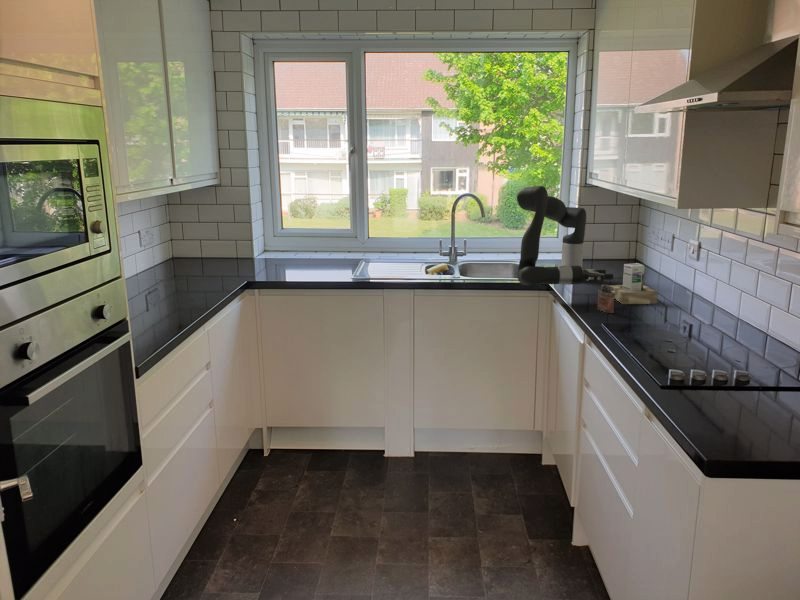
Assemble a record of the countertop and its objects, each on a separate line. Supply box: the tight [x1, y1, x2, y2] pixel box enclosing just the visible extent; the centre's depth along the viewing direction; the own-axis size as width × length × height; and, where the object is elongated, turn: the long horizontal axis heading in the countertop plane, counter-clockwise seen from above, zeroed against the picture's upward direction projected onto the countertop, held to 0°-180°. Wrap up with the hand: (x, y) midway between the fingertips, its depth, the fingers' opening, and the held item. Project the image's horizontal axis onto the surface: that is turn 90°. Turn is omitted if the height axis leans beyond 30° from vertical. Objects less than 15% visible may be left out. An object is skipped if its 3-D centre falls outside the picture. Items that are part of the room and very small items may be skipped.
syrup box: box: [622, 262, 645, 291], centre depth 251 cm, size 6×6×14 cm
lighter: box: [596, 284, 615, 314], centre depth 235 cm, size 8×3×10 cm, turn 21°
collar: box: [609, 284, 659, 305], centre depth 252 cm, size 14×14×4 cm
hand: (609, 274), depth 250 cm, fingers open, 8 cm apart
